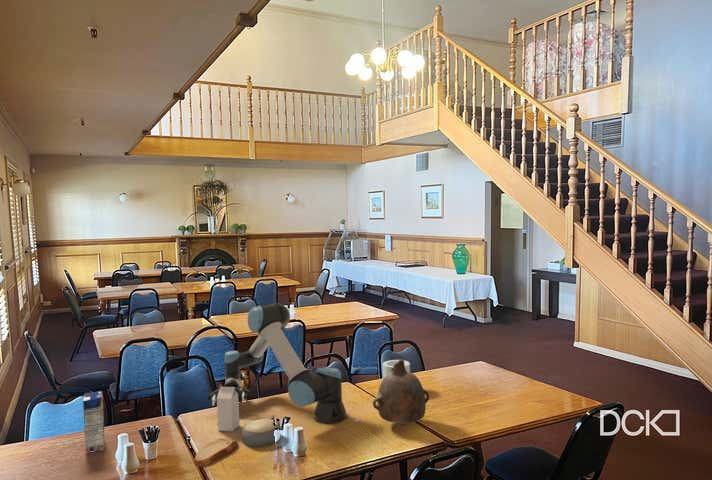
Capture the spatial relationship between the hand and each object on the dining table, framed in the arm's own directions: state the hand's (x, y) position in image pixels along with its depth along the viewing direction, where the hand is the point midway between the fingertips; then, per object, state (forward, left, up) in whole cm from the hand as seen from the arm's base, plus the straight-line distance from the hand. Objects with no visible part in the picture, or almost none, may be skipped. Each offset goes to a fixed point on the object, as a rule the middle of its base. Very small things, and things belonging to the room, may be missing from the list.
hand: (228, 401), depth 229 cm
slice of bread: (-14, +28, -11) cm, 33 cm away
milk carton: (-4, +5, -11) cm, 12 cm away
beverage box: (+41, +37, -11) cm, 57 cm away
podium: (-25, +11, -10) cm, 29 cm away
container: (-64, -64, -11) cm, 91 cm away
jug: (-79, -19, -11) cm, 82 cm away
